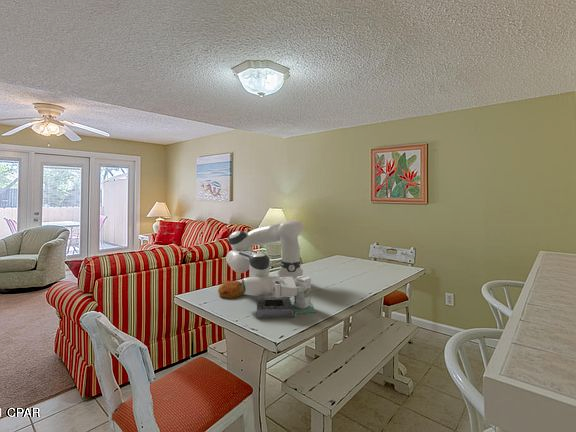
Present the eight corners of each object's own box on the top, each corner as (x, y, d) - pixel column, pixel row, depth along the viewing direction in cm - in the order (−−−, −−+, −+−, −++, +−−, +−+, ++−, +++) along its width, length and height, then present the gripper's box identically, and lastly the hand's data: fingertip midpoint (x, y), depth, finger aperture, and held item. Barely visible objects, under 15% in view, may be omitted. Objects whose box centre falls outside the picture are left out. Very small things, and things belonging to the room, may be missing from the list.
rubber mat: (290, 302, 155) (290, 301, 155) (310, 302, 156) (310, 301, 156) (293, 313, 141) (293, 312, 141) (315, 312, 142) (315, 311, 142)
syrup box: (301, 303, 153) (301, 274, 152) (310, 306, 149) (311, 277, 148) (294, 306, 148) (294, 277, 147) (303, 309, 144) (304, 279, 143)
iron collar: (257, 305, 151) (257, 297, 151) (289, 304, 152) (289, 296, 152) (256, 318, 135) (256, 309, 135) (292, 317, 136) (293, 308, 136)
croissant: (226, 292, 176) (224, 279, 176) (250, 292, 171) (249, 277, 171) (212, 300, 163) (210, 285, 163) (238, 299, 158) (236, 284, 158)
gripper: (274, 285, 157) (301, 285, 159) (276, 299, 137) (307, 298, 138) (274, 273, 157) (301, 273, 158) (277, 285, 137) (307, 285, 138)
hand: (304, 285), depth 148 cm, fingers open, 8 cm apart
